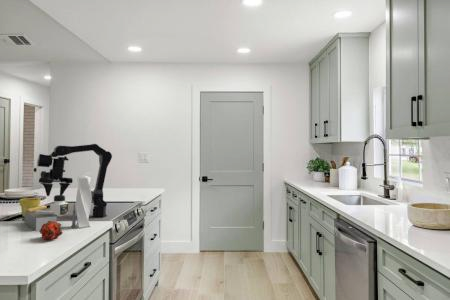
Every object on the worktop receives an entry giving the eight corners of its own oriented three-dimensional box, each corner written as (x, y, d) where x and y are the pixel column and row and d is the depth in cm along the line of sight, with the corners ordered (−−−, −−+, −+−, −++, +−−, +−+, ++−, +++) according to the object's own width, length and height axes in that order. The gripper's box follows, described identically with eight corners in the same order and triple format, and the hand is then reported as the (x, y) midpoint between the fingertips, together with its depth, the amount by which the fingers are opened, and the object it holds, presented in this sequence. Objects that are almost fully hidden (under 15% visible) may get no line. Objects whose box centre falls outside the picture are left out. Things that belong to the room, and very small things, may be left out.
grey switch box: (45, 220, 181) (46, 209, 181) (57, 228, 165) (58, 215, 165) (24, 223, 174) (24, 210, 174) (34, 231, 158) (35, 217, 158)
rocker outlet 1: (44, 206, 179) (44, 205, 179) (46, 208, 176) (46, 206, 175) (28, 210, 173) (27, 208, 173) (30, 212, 170) (29, 210, 170)
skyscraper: (87, 224, 176) (89, 172, 176) (93, 227, 170) (95, 173, 170) (71, 226, 170) (73, 172, 170) (77, 229, 164) (79, 173, 164)
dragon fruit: (53, 238, 152) (52, 249, 141) (36, 229, 148) (33, 239, 137) (65, 223, 153) (65, 233, 142) (49, 214, 149) (48, 223, 139)
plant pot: (43, 214, 198) (44, 198, 198) (31, 217, 188) (32, 200, 188) (27, 213, 199) (28, 197, 199) (14, 217, 189) (15, 200, 189)
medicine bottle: (60, 216, 194) (60, 196, 194) (49, 215, 196) (50, 195, 196) (68, 214, 201) (68, 194, 201) (57, 213, 203) (58, 194, 203)
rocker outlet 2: (51, 213, 169) (52, 211, 169) (54, 214, 166) (54, 212, 166) (34, 212, 164) (34, 209, 164) (36, 213, 161) (37, 211, 161)
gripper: (59, 167, 195) (56, 193, 194) (32, 166, 177) (28, 194, 176) (74, 168, 191) (71, 195, 191) (48, 167, 174) (45, 197, 173)
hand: (54, 195), depth 183 cm, fingers open, 9 cm apart
